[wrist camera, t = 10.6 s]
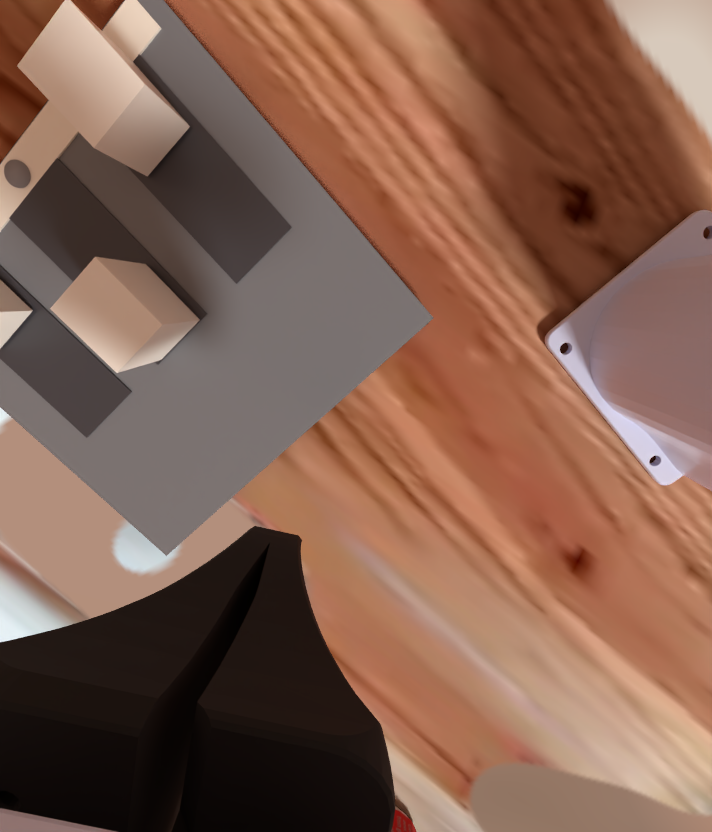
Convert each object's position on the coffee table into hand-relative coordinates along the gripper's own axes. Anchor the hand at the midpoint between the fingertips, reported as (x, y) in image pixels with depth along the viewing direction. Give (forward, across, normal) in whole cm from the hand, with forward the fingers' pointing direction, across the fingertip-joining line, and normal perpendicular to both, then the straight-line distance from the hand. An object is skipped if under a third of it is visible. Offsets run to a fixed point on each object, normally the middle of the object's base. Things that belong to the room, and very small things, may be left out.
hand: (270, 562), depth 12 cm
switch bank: (+10, +8, -5) cm, 13 cm away
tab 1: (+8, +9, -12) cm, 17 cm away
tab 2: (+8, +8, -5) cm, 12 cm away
